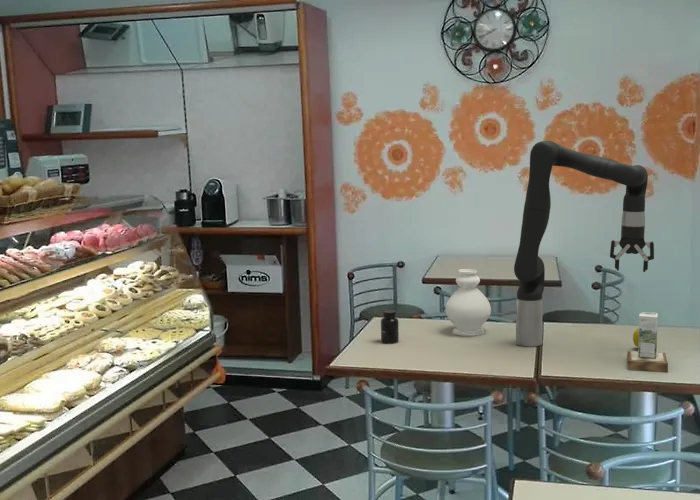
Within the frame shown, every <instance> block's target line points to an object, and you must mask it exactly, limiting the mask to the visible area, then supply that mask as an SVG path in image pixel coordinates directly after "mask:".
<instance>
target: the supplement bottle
mask: <svg viewBox="0 0 700 500" xmlns="http://www.w3.org/2000/svg"><path fill="white" fill-rule="evenodd" d="M382 313H383V315H382V318H381V320H380V341H381V342H382V343H383V344H389V345H391V344H397V343H398V342H399V338H400V337H399V336H400V335H399V334H400V333H399V329H400V328H399V327H400V326H399V319H398V318H397V314H396V313H397V312H396V310H394V309H393V310H392V309H386V310H384V311H383V312H382Z"/></svg>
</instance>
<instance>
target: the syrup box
mask: <svg viewBox="0 0 700 500" xmlns="http://www.w3.org/2000/svg"><path fill="white" fill-rule="evenodd" d="M658 318H659V314H658V312H645V311H639V315H638V329H639V346H638V347H637V348H638V350H637V352H638V357H641V358H653V359H656V357H657V353H658V324H659V323H658Z"/></svg>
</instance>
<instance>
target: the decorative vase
mask: <svg viewBox="0 0 700 500" xmlns="http://www.w3.org/2000/svg"><path fill="white" fill-rule="evenodd" d="M457 273H458V274H459V275H458V276H457V277H456V278H455V283H456V284H457V285H458V286H459V287H458V288H457V289H456V290H455V291H454V292H453V293H452V295H451V296H450V298H449V299H448V301H447V302H446V304H445V315H446V317H447V318H448V320H449V321H450V322H451V323H452V325H454V327H455V328H453V329H452V334H453V335H458V336H463V337H476V336H482V335H483V334H484V333H485V329H483V328H482V327H483V325H484V324H485V323H486V322H487V320H488V319H489V318H490V316H491V313H492V308H491V304H490V302H489V300H488V298H487V296H485V294H483V293H482V291H481V290H479V288H477V286H478V285H479V284H480V282H481V279H480V277H479V276H478V275H477V274H478V269H475V268H461V269H460V268H459V269H458V270H457Z"/></svg>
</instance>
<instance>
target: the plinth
mask: <svg viewBox="0 0 700 500" xmlns="http://www.w3.org/2000/svg"><path fill="white" fill-rule="evenodd" d="M626 355H627V358H626V360H627V370H629V371H642V372H659V373H668V372H669V371H668V370H669V362H668V358H667V356H666V353H665V352H657V357H656V359H653V358H641V357H638V351H633V350H627V353H626Z"/></svg>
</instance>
